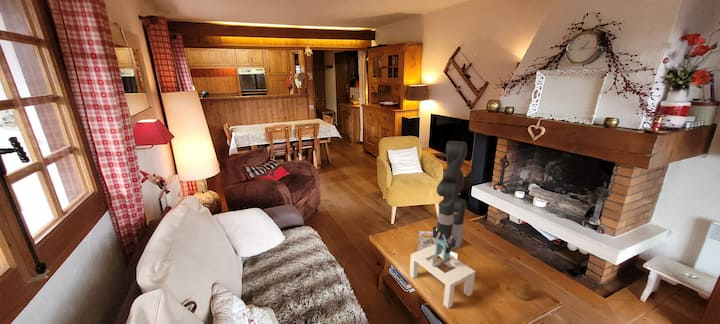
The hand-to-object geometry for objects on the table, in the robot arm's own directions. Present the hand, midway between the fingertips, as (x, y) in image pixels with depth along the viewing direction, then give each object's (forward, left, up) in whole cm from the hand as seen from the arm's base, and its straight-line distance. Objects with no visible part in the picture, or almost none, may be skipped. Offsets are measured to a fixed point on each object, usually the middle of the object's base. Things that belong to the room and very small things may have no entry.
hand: (442, 249), depth 148 cm
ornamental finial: (-30, +28, -22) cm, 47 cm away
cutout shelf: (0, 0, -22) cm, 22 cm away
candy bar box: (-12, -22, -22) cm, 33 cm away
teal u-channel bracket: (0, 0, -4) cm, 4 cm away
